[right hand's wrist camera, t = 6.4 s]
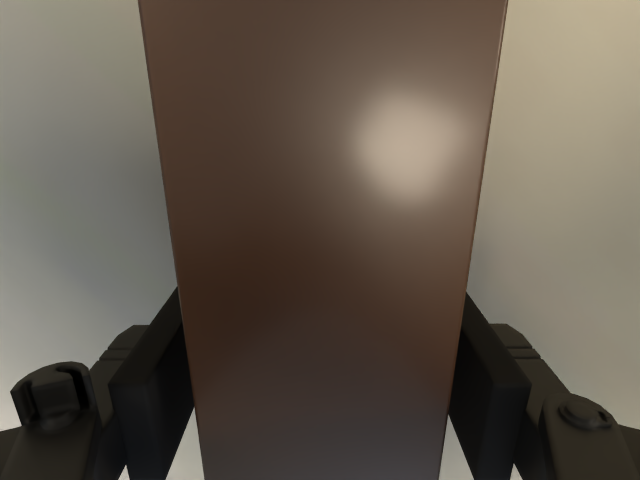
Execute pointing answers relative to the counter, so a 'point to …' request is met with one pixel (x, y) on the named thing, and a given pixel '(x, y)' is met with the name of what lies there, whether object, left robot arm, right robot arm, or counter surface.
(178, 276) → the walnut beam
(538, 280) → the counter surface
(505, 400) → the right robot arm
